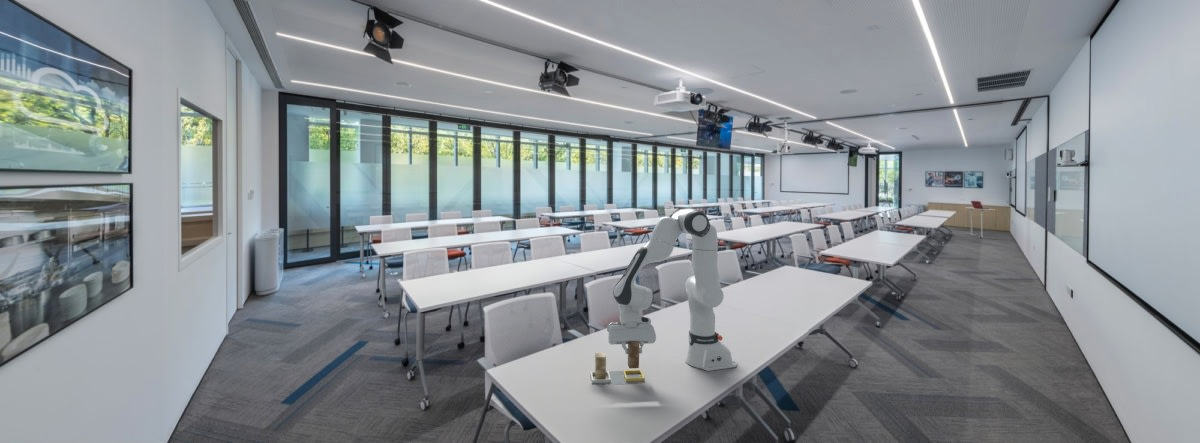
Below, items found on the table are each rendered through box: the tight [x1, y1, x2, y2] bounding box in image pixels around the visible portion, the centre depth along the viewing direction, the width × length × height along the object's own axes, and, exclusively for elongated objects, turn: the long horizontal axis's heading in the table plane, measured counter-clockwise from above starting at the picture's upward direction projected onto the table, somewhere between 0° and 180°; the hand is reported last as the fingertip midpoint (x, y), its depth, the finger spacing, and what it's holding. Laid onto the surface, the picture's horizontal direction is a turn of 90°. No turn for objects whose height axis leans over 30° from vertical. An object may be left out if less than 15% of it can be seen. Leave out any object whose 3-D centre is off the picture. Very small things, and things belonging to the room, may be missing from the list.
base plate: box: [589, 369, 647, 387], centre depth 180 cm, size 22×12×2 cm, turn 96°
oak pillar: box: [594, 352, 607, 379], centre depth 179 cm, size 4×4×10 cm
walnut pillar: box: [627, 341, 640, 369], centre depth 180 cm, size 4×4×10 cm
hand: (633, 353), depth 179 cm, fingers closed on walnut pillar, 4 cm apart
